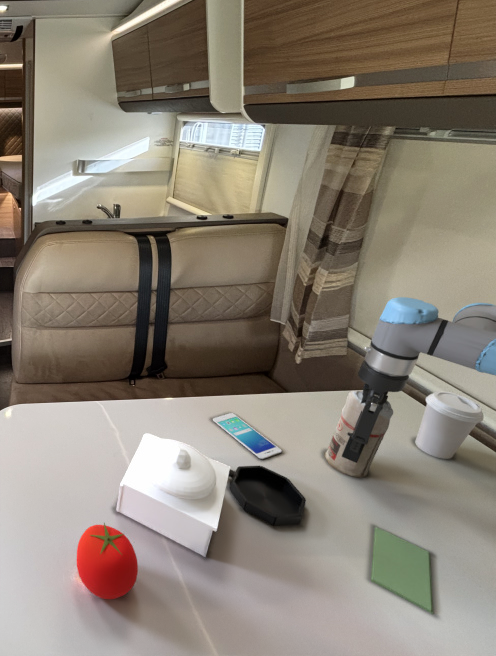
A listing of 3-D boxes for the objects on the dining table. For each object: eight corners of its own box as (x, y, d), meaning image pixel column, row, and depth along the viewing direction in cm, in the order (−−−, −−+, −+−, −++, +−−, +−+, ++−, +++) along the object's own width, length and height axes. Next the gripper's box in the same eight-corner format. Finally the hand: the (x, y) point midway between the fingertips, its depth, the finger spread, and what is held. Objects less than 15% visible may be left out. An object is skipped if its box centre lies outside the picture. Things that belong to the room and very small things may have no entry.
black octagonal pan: (305, 497, 93) (309, 486, 92) (294, 539, 85) (299, 528, 83) (200, 447, 107) (203, 437, 106) (182, 479, 98) (184, 468, 97)
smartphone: (232, 412, 118) (283, 450, 105) (231, 414, 118) (282, 453, 105) (211, 418, 115) (261, 459, 102) (210, 421, 116) (260, 461, 103)
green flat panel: (428, 555, 81) (430, 551, 81) (431, 616, 72) (434, 612, 72) (373, 529, 87) (375, 525, 86) (370, 582, 77) (371, 579, 77)
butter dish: (140, 459, 104) (148, 407, 98) (222, 495, 94) (237, 440, 88) (115, 512, 91) (123, 455, 85) (207, 561, 81) (224, 501, 75)
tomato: (138, 617, 72) (146, 575, 68) (75, 605, 74) (79, 564, 70) (129, 556, 82) (136, 517, 78) (73, 547, 84) (77, 508, 80)
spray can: (328, 444, 107) (351, 381, 99) (370, 462, 101) (399, 397, 93) (320, 464, 102) (344, 400, 93) (364, 485, 96) (394, 418, 88)
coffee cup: (458, 472, 99) (486, 421, 94) (403, 449, 106) (426, 400, 100) (461, 451, 105) (487, 402, 99) (409, 430, 112) (431, 383, 106)
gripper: (367, 340, 100) (337, 416, 109) (358, 382, 86) (324, 465, 95) (410, 353, 95) (375, 431, 104) (409, 399, 81) (368, 485, 90)
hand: (351, 447), depth 99 cm, fingers open, 8 cm apart
